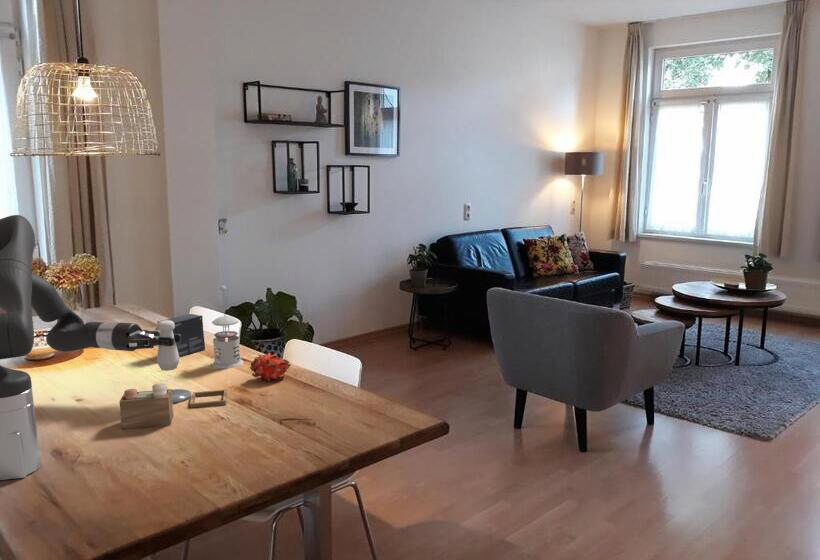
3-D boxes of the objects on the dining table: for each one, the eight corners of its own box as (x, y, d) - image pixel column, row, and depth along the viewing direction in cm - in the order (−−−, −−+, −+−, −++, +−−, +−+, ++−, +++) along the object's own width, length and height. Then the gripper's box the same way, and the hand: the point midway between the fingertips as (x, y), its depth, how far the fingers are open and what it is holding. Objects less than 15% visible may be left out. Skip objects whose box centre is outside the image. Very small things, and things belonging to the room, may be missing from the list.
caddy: (170, 424, 159) (167, 388, 157) (122, 429, 156) (118, 392, 155) (173, 415, 165) (170, 380, 163) (126, 419, 162) (123, 384, 161)
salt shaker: (172, 372, 172) (169, 324, 170) (152, 371, 173) (149, 323, 171) (184, 365, 178) (181, 319, 175) (165, 364, 179) (161, 318, 177)
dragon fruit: (247, 386, 190) (288, 386, 195) (252, 376, 184) (294, 377, 188) (246, 358, 194) (287, 359, 199) (252, 348, 187) (293, 349, 192)
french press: (211, 369, 201) (205, 289, 196) (212, 358, 212) (207, 282, 207) (244, 366, 203) (239, 287, 199) (243, 356, 214) (239, 281, 210)
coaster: (189, 402, 173) (189, 400, 173) (149, 406, 171) (149, 403, 171) (192, 389, 183) (192, 387, 183) (154, 393, 181) (154, 390, 181)
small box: (193, 346, 226) (190, 312, 224) (205, 349, 222) (203, 315, 220) (159, 356, 215) (156, 320, 213) (172, 359, 211) (169, 323, 209)
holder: (225, 404, 172) (225, 401, 172) (189, 407, 170) (189, 404, 170) (227, 393, 180) (227, 389, 180) (193, 395, 178) (192, 392, 178)
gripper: (100, 329, 170) (160, 333, 166) (133, 316, 183) (190, 320, 180) (103, 357, 171) (162, 361, 168) (135, 342, 185) (191, 346, 181)
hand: (176, 340), depth 174 cm, fingers closed on salt shaker, 3 cm apart
